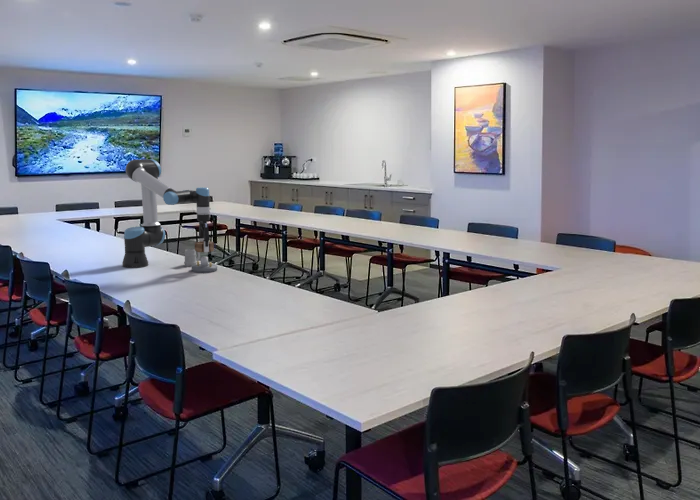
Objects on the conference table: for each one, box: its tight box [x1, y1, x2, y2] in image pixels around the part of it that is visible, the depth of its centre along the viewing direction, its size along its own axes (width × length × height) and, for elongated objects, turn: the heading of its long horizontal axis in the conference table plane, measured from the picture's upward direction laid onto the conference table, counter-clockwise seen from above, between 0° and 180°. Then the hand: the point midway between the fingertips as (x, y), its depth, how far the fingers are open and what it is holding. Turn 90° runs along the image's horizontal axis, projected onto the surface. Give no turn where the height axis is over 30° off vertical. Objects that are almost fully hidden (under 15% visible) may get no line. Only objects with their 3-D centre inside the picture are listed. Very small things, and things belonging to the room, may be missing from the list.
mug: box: [183, 248, 201, 267], centre depth 392 cm, size 8×12×12 cm, turn 148°
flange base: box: [191, 256, 218, 274], centre depth 375 cm, size 15×15×8 cm
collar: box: [194, 240, 215, 253], centre depth 374 cm, size 11×11×5 cm
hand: (204, 250), depth 374 cm, fingers closed on collar, 11 cm apart
